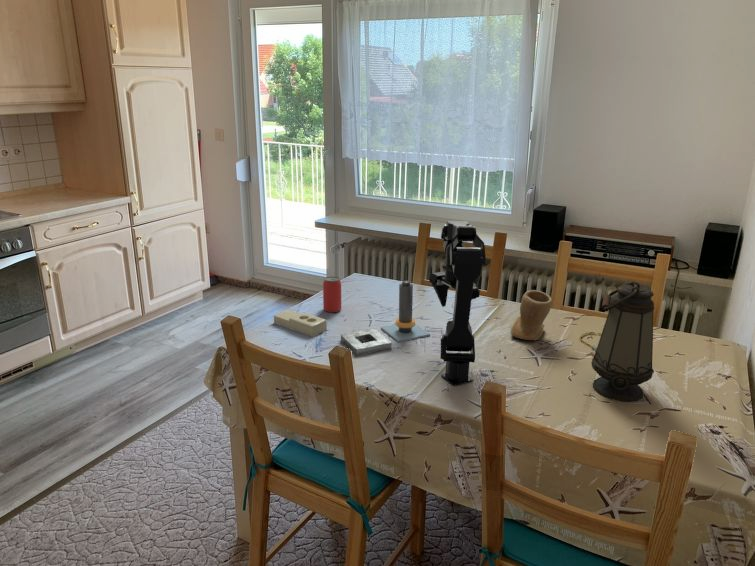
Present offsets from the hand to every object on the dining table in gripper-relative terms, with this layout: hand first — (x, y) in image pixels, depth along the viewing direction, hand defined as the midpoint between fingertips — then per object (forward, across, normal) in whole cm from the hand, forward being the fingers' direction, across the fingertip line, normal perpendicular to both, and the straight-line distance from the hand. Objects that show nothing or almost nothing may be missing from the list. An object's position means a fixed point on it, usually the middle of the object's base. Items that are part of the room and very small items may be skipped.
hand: (452, 311), depth 168 cm
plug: (+11, +16, +7) cm, 21 cm away
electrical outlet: (+13, +35, +37) cm, 53 cm away
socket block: (+12, +13, +23) cm, 29 cm away
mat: (+12, +16, +7) cm, 21 cm away
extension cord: (+13, -19, -45) cm, 50 cm away
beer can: (+12, +45, +21) cm, 51 cm away
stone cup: (+12, -3, -30) cm, 33 cm away
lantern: (+12, -42, -26) cm, 51 cm away
